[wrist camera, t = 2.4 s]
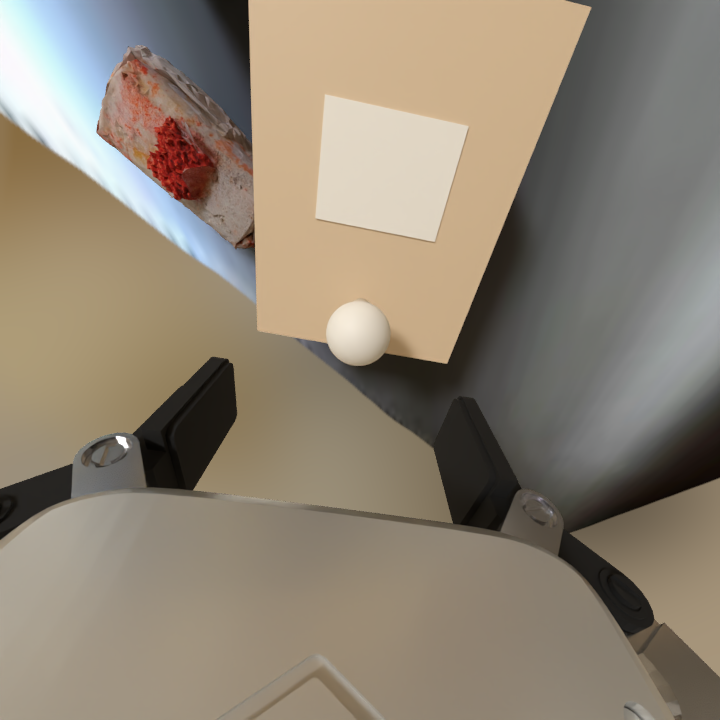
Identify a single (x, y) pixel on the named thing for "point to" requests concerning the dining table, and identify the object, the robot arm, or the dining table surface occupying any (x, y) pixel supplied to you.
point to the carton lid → (392, 159)
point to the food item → (181, 142)
